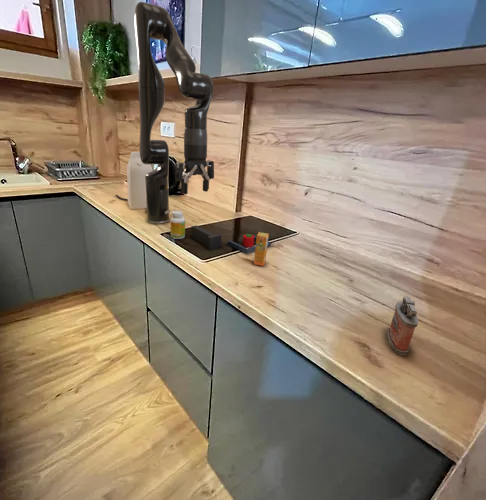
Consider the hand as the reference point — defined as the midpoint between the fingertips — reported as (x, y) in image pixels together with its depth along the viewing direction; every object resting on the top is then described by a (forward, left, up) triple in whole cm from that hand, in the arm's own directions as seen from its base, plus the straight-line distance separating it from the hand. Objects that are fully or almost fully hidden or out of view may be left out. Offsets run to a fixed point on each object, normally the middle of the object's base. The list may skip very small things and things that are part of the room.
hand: (195, 192), depth 105 cm
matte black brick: (+3, +2, -18) cm, 18 cm away
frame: (+14, +14, -18) cm, 27 cm away
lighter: (+71, +3, -18) cm, 73 cm away
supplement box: (+28, +6, -18) cm, 34 cm away
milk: (-55, +5, -18) cm, 58 cm away
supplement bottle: (-7, -3, -18) cm, 20 cm away
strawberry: (+14, +14, -18) cm, 27 cm away
